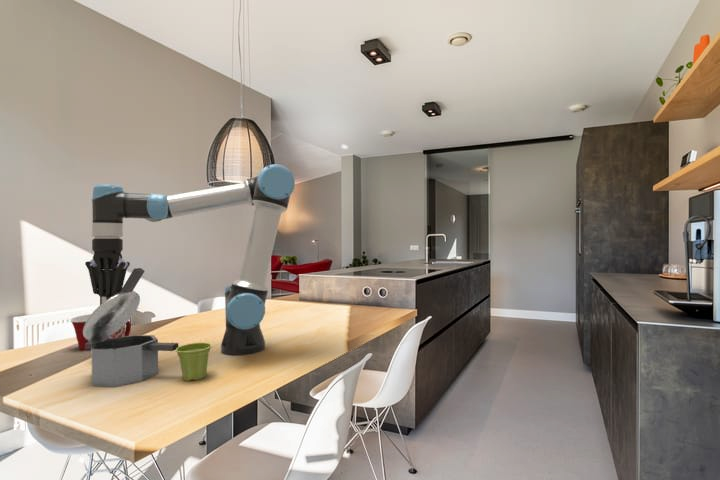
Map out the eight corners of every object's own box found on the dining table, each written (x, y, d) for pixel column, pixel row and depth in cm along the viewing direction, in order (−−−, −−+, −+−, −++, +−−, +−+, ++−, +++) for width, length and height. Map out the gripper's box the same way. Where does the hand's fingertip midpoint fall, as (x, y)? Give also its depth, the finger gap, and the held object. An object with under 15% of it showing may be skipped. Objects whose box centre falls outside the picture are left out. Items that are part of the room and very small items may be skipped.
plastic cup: (63, 352, 140) (62, 319, 140) (85, 344, 151) (84, 313, 151) (92, 352, 140) (91, 318, 140) (112, 344, 151) (111, 313, 151)
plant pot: (189, 385, 104) (189, 353, 104) (169, 379, 109) (168, 348, 109) (219, 375, 112) (218, 344, 112) (198, 370, 117) (198, 341, 117)
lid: (161, 269, 121) (155, 264, 121) (119, 274, 104) (111, 268, 104) (121, 335, 123) (114, 330, 123) (73, 350, 106) (65, 344, 106)
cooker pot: (192, 368, 118) (191, 335, 118) (157, 388, 103) (156, 350, 103) (110, 366, 123) (109, 334, 123) (64, 385, 107) (64, 348, 107)
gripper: (136, 238, 117) (136, 316, 117) (99, 237, 119) (98, 315, 119) (117, 237, 109) (116, 321, 109) (77, 237, 111) (77, 320, 111)
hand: (107, 318), depth 114 cm, fingers closed
